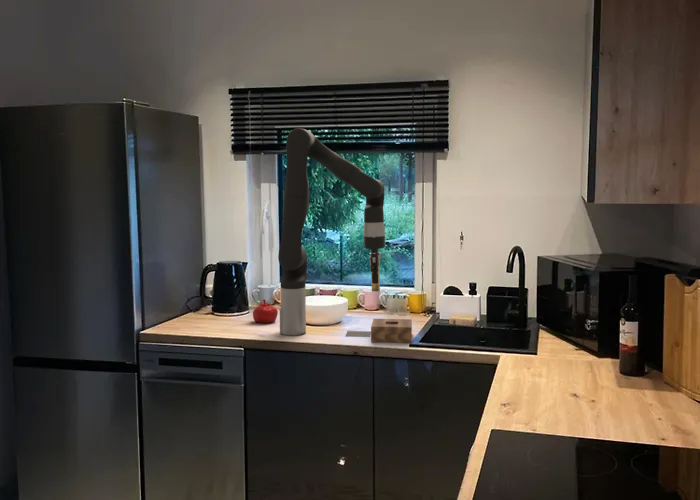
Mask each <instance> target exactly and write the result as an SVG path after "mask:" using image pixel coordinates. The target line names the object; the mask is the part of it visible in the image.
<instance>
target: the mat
mask: <svg viewBox="0 0 700 500" xmlns="http://www.w3.org/2000/svg"><path fill="white" fill-rule="evenodd" d="M346 331H347V332H346V333H345V335H344V337H347V338H348V337H352V338H353V337H355V338H357V337H358V338H359V337H360V338H371V330H369V331H367V330H365V331H364V330H363V331H361V330H353V331H352V330H346Z"/></svg>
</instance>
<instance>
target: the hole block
mask: <svg viewBox="0 0 700 500" xmlns="http://www.w3.org/2000/svg"><path fill="white" fill-rule="evenodd" d="M412 319H413V318H412ZM412 319H411V318H410V319H409V318H408V319H407V318H373V319H372V323H371V325H370V331H371V335H370V343H375V344H377V343H378V344H412V338H413V337H412V335H413V332H412V331H413V329H412V328H413V320H412Z"/></svg>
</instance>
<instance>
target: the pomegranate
mask: <svg viewBox="0 0 700 500" xmlns="http://www.w3.org/2000/svg"><path fill="white" fill-rule="evenodd" d="M262 301H263V303H262V302H258V303H257V306H256V307H255V308H254V310H253V311H252V318H253V321H254V322H255V323H259V324H270V323H275V321H276V320H277V318H278V311H279V310H278V309H277V308H276V306H274V304H275V303H273V302H272V303H271V302H270V303H268V302H266V299H265V298H264V299H262Z"/></svg>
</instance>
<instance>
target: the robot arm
mask: <svg viewBox="0 0 700 500" xmlns="http://www.w3.org/2000/svg"><path fill="white" fill-rule="evenodd" d="M308 158H310V159H312V160H314V161H316V162H317V163H318V164H320V165H322V166H323V167H324V168H326V170H327V171H329V172H330V173H332V175H334V176H335V177H337V178H338V179H339V180H341V181H343V182H344V183H345V184H347V185H349V186H351V187H352V188H354V190H356V191H357V192H358V193H359V194H360V195H362V196H363V197H364V198H365V207H364V210H363V218H364V219H363V221H364V223H363V224H364V225H363V247H364V249H368V250H370V253H368V255H369V256H368V257H369V266H370V273H371V272H372V283H373V284H377V283H378V272H380V266H381V252H379V249H384V248H386V231H385V230H386V228H385V222H384V221H385V218H384V213H385V212H384V206H385V205H384V203H385V185H384V183H383V182H382V181H381V180H379V179H376V178H373V177H372V176H370V175H369V174H366V173H365V172H364V171H363V170H362V169H361V168H360V167H358V166H357V165H355V164H354V163H352V162H350V161H349V160H348V159H345V158H344V157H342V156H341V155H339V154H338V153H336V152H335V151H333V150H332V149H330V148H329V147H327V146H326V145H324V143H322V142H321V141H320V140H319V139H318V138H317V137H316V136H315V135H314V134H313V133H312V132H311V131H310V130H307V129H305V128H301V127H300V128H298V127H297V128H294V129H292V130H290V132H289V133H288V135H287V137H286V173H285V182H284V193H283V205H282V230H281V231H282V232H281V239H280V245H279V250H278V256H277V258H278V262H279V264H280V267H282V276H281V279H280V308H279V335H285V336H300V335H304V334H306V333H307V319H306V318H307V317H306V314H307V313H306V312H307V311H306V309H307V307H306V306H307V305H306V298H307V297H306V293H307V292H306V282H307V277H308V276H307V275H308V257H307V256H308V255H307V251H306V249H305V248H304V246H302V239H303V238H302V236H303V230H304V227H305V223H306V220H307V216H308V212H309V205H310V186H309V185H310V184H309V179H308V171H307V165H308V164H307V163H308ZM373 267H377V269H373ZM378 267H379V270H378Z"/></svg>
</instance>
